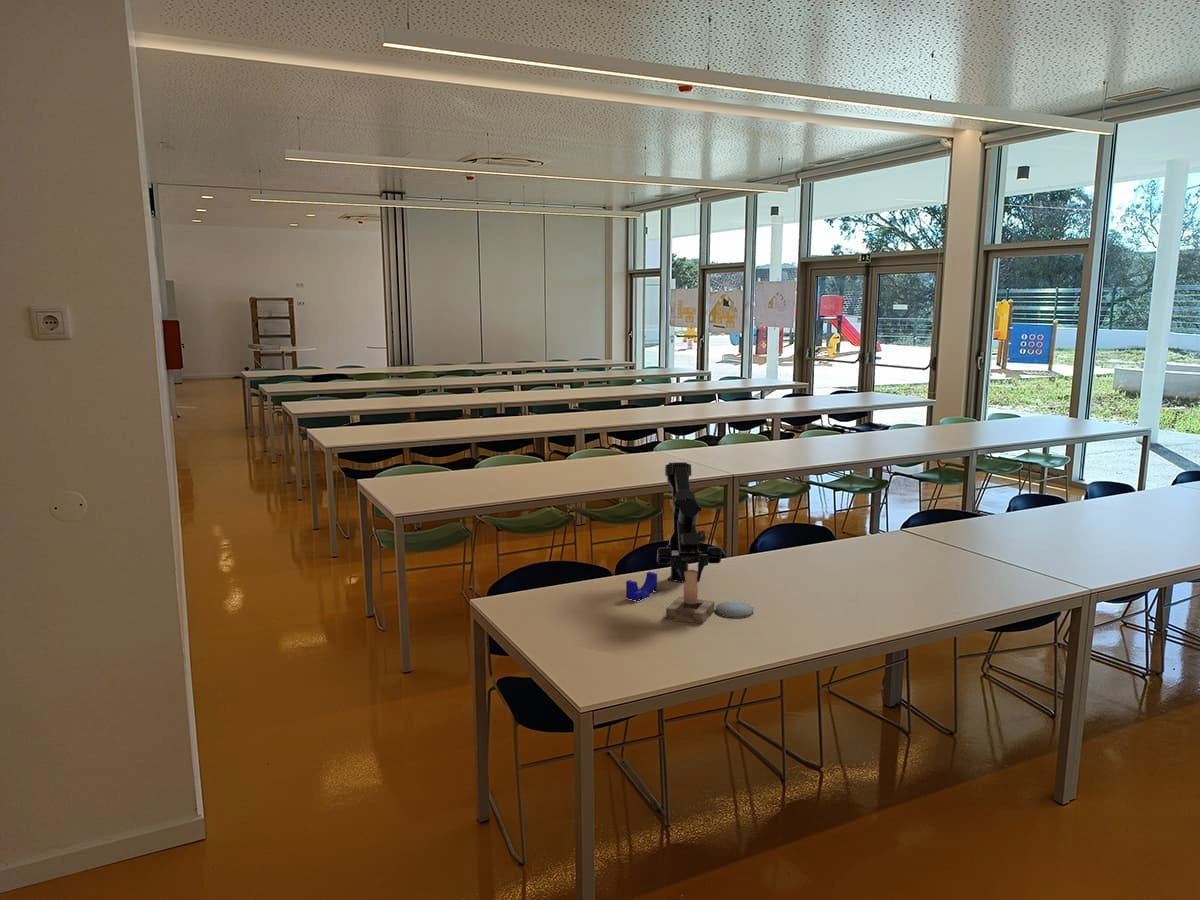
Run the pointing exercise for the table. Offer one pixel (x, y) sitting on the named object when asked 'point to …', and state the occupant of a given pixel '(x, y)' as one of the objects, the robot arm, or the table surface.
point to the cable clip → (646, 589)
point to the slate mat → (734, 609)
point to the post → (690, 587)
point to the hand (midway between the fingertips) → (691, 581)
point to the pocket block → (690, 610)
